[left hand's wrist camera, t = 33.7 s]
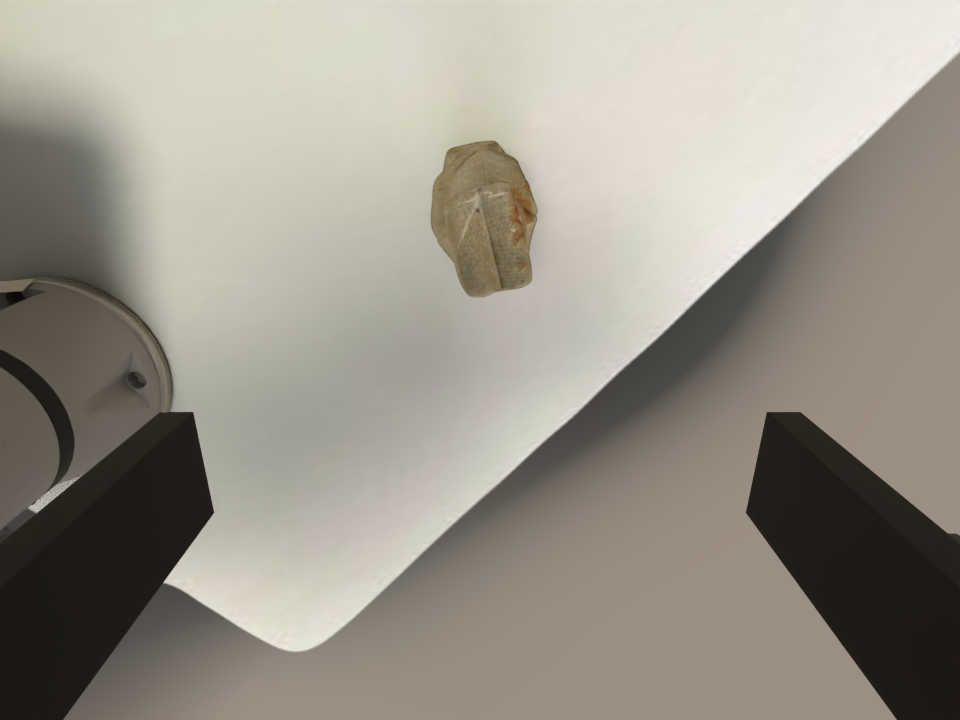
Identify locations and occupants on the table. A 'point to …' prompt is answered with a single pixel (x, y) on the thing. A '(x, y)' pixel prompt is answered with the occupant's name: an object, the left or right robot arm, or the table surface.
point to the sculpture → (484, 218)
